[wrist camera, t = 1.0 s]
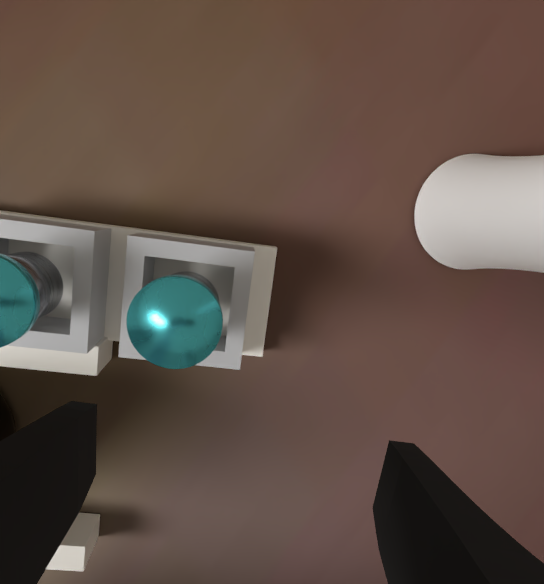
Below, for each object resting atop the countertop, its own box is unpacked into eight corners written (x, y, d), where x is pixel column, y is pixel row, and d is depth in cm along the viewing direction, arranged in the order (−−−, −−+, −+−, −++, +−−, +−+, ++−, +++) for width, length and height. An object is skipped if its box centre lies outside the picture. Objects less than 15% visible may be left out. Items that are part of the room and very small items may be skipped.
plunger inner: (68, 328, 20) (31, 354, 17) (-15, 319, 20) (-71, 343, 16) (72, 250, 19) (34, 259, 16) (-13, 239, 19) (-71, 246, 16)
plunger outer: (221, 345, 21) (216, 373, 17) (143, 336, 20) (122, 363, 17) (230, 270, 20) (227, 283, 17) (150, 259, 20) (130, 271, 16)
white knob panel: (234, 546, 26) (233, 596, 23) (-140, 520, 25) (-202, 571, 21) (275, 246, 23) (281, 252, 20) (-152, 190, 21) (-228, 187, 18)
